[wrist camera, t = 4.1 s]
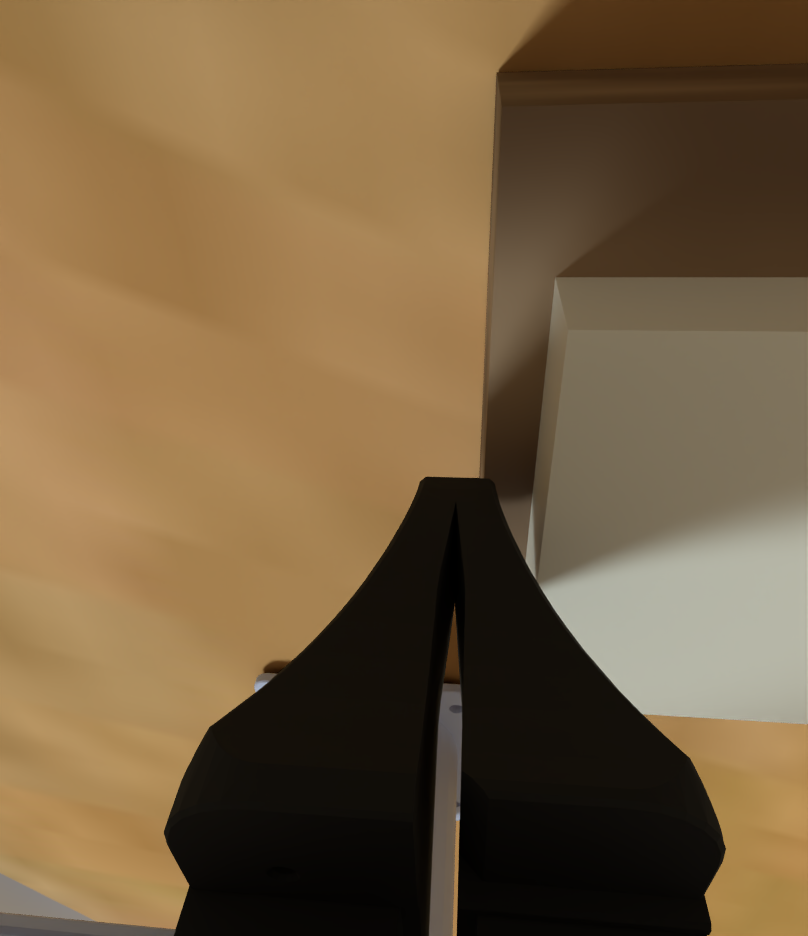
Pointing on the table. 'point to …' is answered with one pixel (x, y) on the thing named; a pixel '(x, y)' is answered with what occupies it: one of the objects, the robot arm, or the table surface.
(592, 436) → the cream flat block
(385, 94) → the table surface
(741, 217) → the brown flat block
